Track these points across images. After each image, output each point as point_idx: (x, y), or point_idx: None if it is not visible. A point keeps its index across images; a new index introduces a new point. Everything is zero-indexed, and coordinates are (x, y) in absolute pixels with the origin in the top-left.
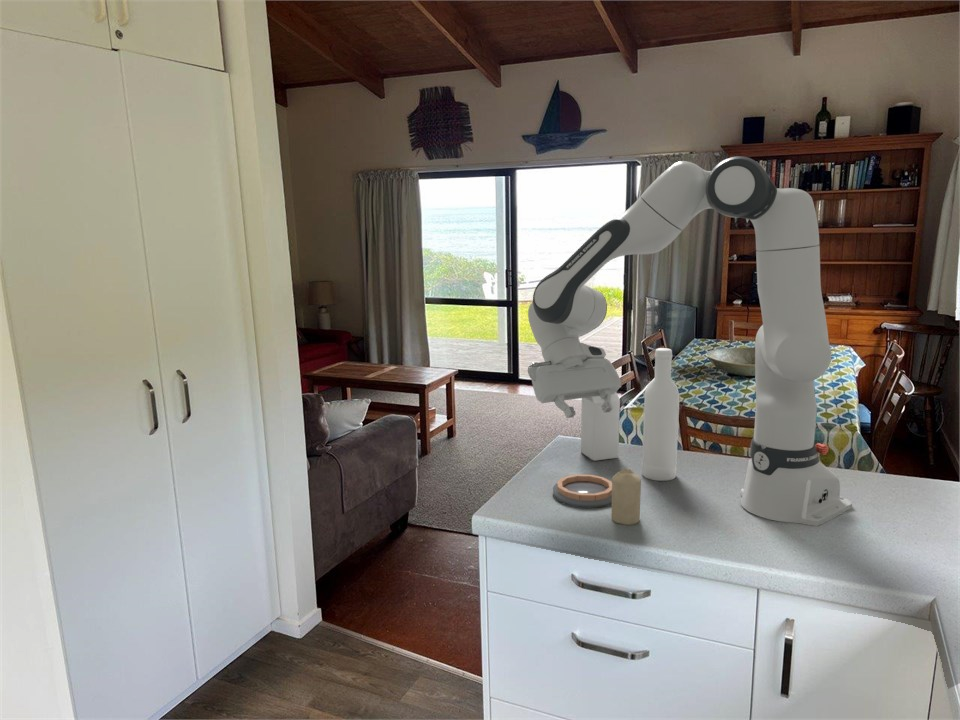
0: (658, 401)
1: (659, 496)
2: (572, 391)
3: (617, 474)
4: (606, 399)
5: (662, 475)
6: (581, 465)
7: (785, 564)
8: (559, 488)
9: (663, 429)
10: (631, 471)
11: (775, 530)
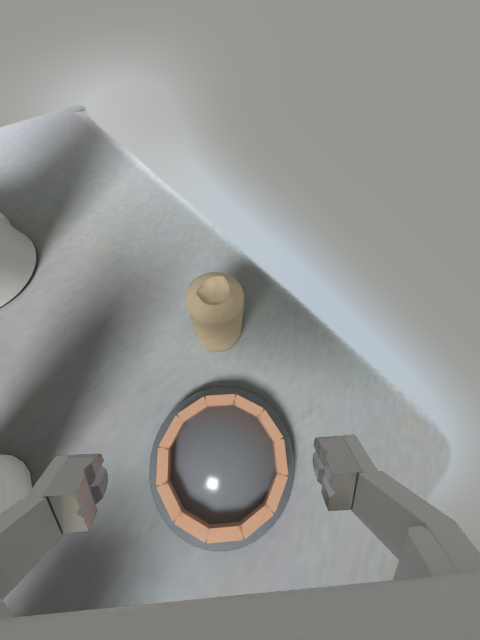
0: None
1: (96, 387)
2: (355, 588)
3: (234, 297)
4: (15, 544)
5: (9, 459)
6: None
7: (132, 177)
8: (287, 468)
9: None
10: (198, 294)
11: (60, 227)
